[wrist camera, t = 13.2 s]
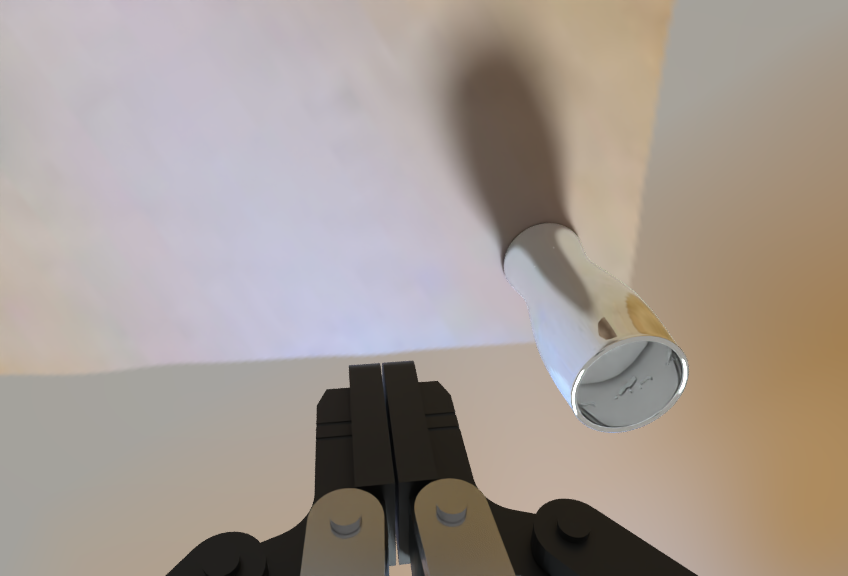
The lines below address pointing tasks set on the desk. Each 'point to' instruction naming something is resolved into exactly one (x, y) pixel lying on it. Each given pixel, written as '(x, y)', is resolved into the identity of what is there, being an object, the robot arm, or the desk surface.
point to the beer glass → (594, 333)
